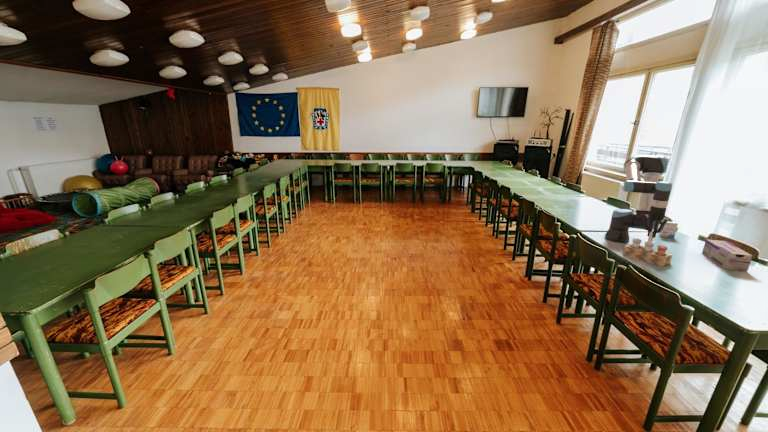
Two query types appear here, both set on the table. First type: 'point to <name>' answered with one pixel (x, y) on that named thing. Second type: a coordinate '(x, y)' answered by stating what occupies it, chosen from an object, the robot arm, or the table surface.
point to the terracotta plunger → (661, 250)
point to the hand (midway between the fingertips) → (649, 241)
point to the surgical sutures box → (727, 255)
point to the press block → (647, 255)
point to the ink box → (669, 229)
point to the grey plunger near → (636, 243)
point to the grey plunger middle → (648, 246)
